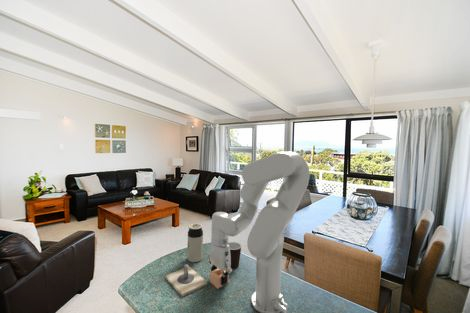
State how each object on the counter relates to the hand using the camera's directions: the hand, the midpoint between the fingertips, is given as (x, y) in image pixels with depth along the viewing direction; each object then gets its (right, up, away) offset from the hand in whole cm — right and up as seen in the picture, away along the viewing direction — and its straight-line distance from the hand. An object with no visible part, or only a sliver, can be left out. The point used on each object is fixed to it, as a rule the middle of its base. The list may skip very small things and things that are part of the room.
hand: (219, 279), depth 94 cm
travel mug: (-14, 0, +19) cm, 24 cm away
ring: (0, -1, 0) cm, 1 cm away
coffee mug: (+6, -1, +16) cm, 17 cm away
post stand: (-15, -1, 0) cm, 15 cm away
